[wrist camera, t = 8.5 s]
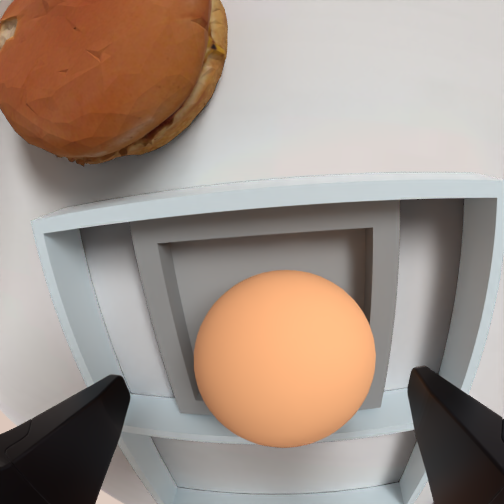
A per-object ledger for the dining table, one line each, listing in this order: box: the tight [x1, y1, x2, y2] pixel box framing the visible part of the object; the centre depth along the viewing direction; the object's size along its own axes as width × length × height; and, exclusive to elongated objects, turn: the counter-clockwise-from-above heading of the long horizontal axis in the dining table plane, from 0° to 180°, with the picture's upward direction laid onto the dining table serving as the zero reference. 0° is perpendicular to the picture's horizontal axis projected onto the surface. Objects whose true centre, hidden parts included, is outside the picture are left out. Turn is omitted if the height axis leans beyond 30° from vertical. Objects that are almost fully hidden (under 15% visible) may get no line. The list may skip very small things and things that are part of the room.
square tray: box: [129, 200, 400, 415], centre depth 13 cm, size 10×10×2 cm
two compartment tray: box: [31, 172, 504, 504], centre depth 14 cm, size 22×18×2 cm
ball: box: [194, 270, 376, 448], centre depth 10 cm, size 6×6×6 cm
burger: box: [0, 0, 228, 166], centre depth 8 cm, size 10×9×5 cm
